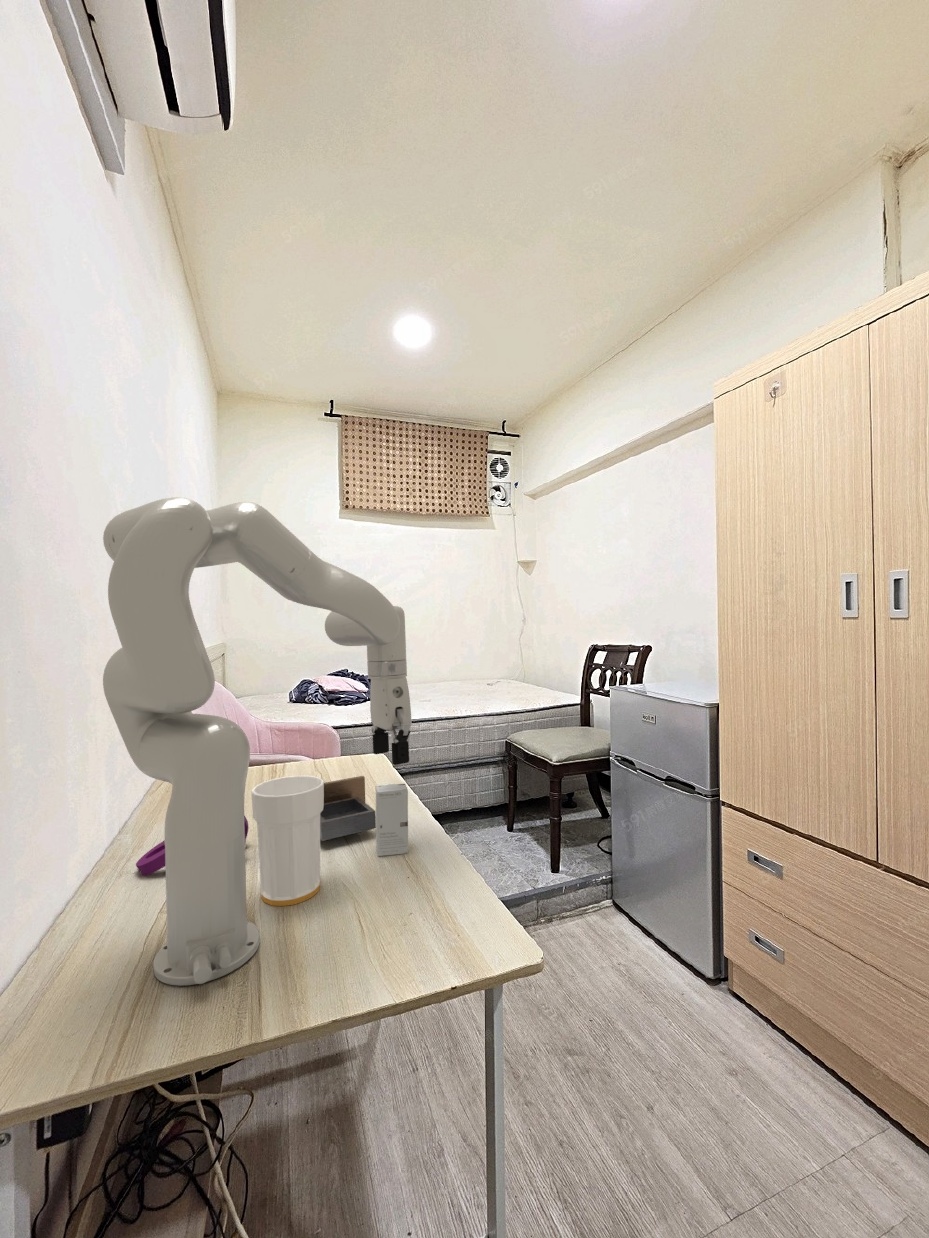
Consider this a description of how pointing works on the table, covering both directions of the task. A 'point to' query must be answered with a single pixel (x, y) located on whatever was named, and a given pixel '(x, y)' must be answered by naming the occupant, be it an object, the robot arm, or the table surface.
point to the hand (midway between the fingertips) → (390, 758)
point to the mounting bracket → (161, 857)
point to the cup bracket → (345, 809)
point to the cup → (289, 837)
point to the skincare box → (391, 819)
